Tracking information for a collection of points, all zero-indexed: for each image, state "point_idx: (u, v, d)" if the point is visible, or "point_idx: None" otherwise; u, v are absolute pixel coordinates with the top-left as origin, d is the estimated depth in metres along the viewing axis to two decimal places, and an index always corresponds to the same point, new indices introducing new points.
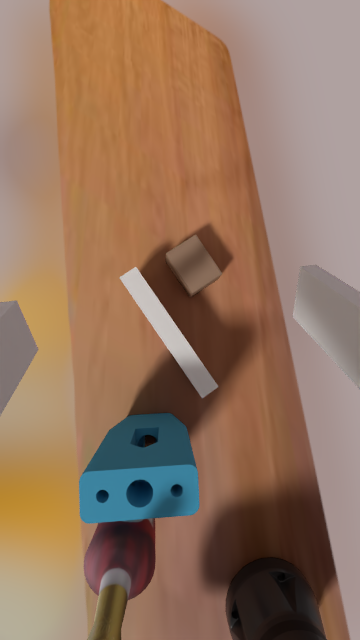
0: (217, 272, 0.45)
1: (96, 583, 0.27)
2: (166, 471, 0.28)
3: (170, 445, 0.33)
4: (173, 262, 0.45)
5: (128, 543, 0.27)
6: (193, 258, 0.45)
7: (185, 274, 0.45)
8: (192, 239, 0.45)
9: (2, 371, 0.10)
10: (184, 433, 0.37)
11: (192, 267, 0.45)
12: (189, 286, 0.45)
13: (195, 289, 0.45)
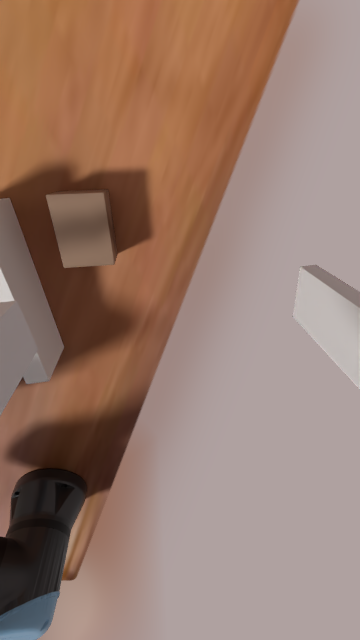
0: (108, 259, 0.33)
1: None
2: None
3: None
4: (52, 214, 0.30)
5: None
6: (85, 225, 0.31)
7: (63, 240, 0.31)
8: (95, 197, 0.29)
9: (2, 371, 0.10)
10: None
11: (77, 235, 0.31)
12: (63, 257, 0.32)
13: (69, 265, 0.32)
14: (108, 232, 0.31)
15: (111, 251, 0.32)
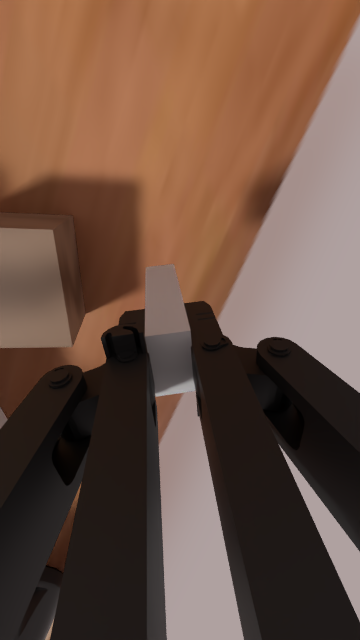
0: (62, 339, 0.19)
1: None
2: None
3: None
4: None
5: None
6: (17, 284, 0.16)
7: None
8: (36, 236, 0.15)
9: None
10: None
11: (2, 299, 0.17)
12: None
13: None
14: (62, 297, 0.17)
15: (67, 327, 0.18)
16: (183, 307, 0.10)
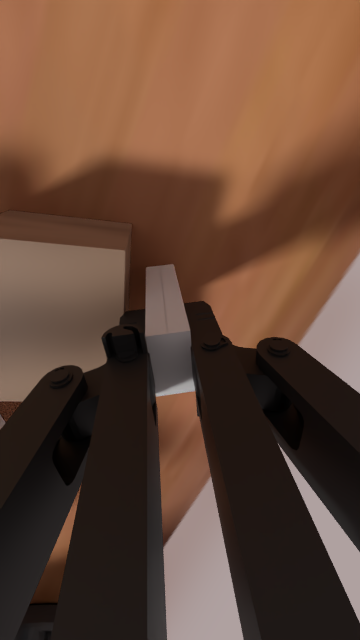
0: None
1: None
2: None
3: None
4: None
5: None
6: (60, 322, 0.11)
7: None
8: (99, 258, 0.10)
9: None
10: None
11: (36, 341, 0.12)
12: None
13: (10, 397, 0.13)
14: None
15: None
16: (183, 307, 0.10)
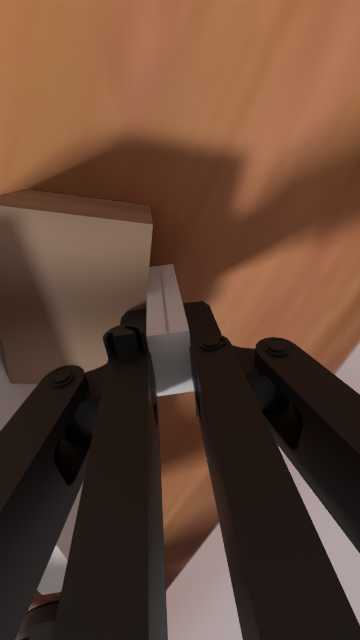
0: None
1: None
2: None
3: None
4: None
5: None
6: (82, 300, 0.11)
7: (17, 326, 0.11)
8: (126, 232, 0.10)
9: None
10: None
11: (56, 320, 0.11)
12: (11, 362, 0.12)
13: (27, 379, 0.13)
14: None
15: None
16: (182, 307, 0.10)
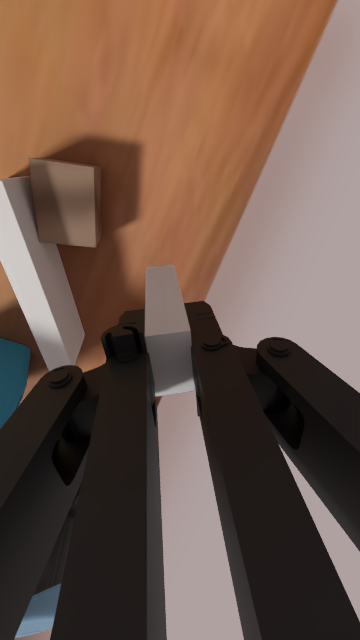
0: (90, 241, 0.30)
1: None
2: None
3: None
4: (33, 181, 0.27)
5: None
6: (68, 200, 0.28)
7: (43, 211, 0.28)
8: (83, 170, 0.27)
9: None
10: (10, 401, 0.34)
11: (58, 209, 0.28)
12: (40, 230, 0.29)
13: (46, 240, 0.30)
14: (93, 211, 0.29)
15: (94, 232, 0.30)
16: (183, 307, 0.10)
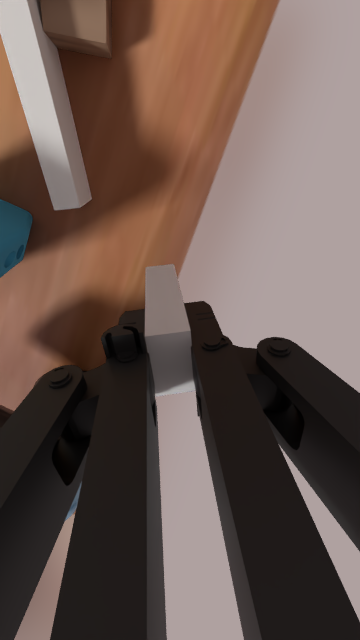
0: (100, 33, 0.27)
1: None
2: None
3: None
4: None
5: None
6: None
7: None
8: None
9: None
10: (10, 235, 0.30)
11: None
12: (43, 13, 0.26)
13: (51, 28, 0.26)
14: None
15: (105, 20, 0.27)
16: (183, 307, 0.10)
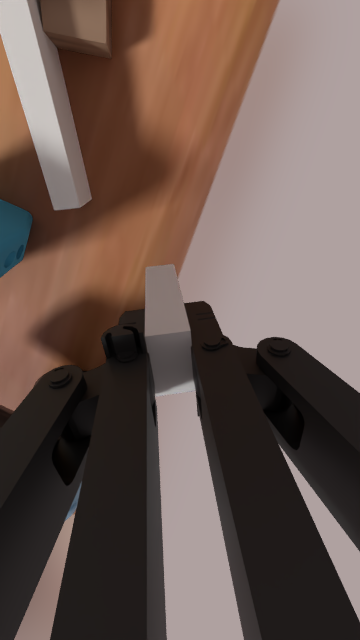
0: (100, 33, 0.27)
1: None
2: None
3: None
4: None
5: None
6: None
7: None
8: None
9: None
10: (10, 235, 0.30)
11: None
12: (43, 13, 0.26)
13: (51, 28, 0.26)
14: None
15: (105, 21, 0.27)
16: (183, 307, 0.10)
